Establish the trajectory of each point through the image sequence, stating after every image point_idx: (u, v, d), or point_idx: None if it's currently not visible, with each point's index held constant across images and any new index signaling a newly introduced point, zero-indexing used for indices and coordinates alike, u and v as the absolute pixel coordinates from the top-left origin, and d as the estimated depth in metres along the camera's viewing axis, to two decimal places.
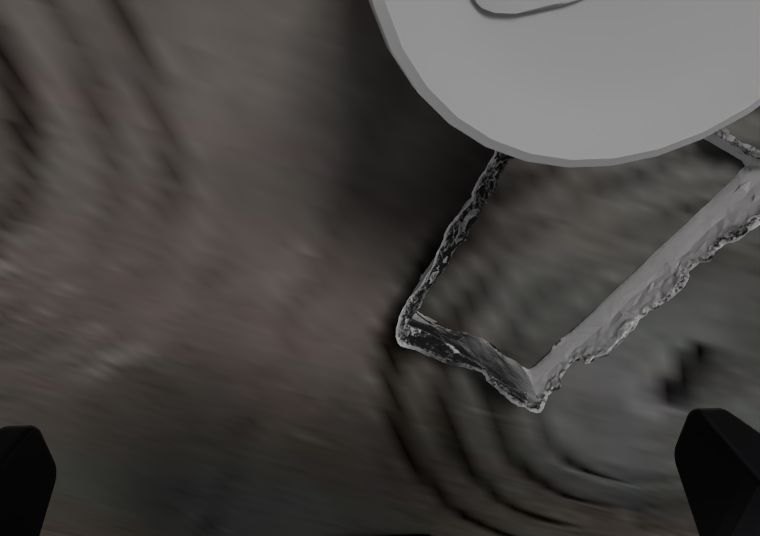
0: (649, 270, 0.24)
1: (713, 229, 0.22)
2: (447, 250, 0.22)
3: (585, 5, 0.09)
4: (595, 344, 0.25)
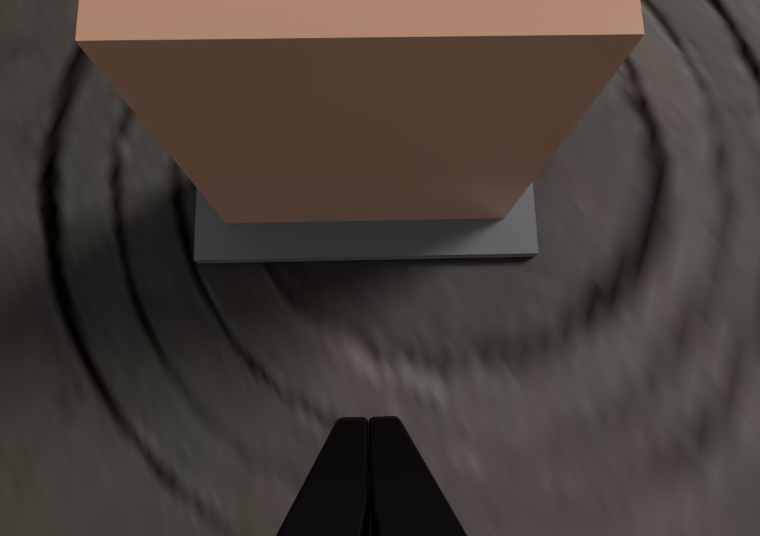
0: None
1: None
2: None
3: None
4: None
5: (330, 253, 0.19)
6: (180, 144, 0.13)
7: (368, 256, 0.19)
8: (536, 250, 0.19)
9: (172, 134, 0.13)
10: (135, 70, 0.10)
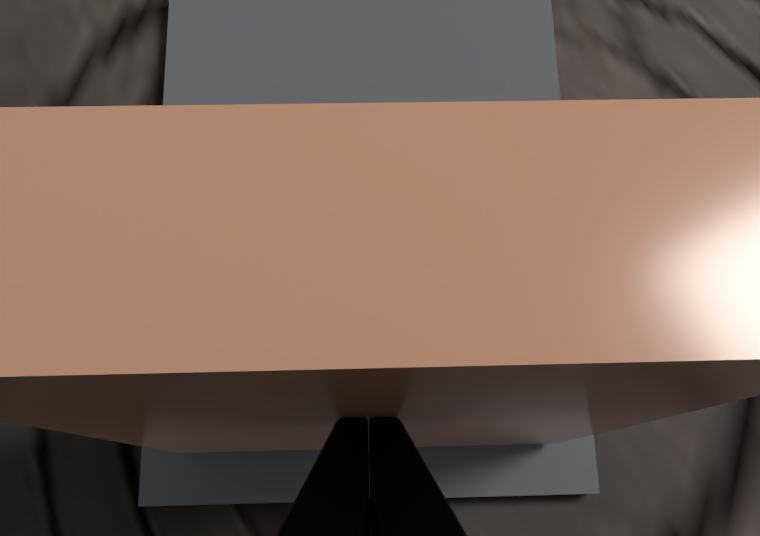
0: None
1: None
2: None
3: None
4: None
5: None
6: (75, 428, 0.08)
7: None
8: (596, 490, 0.14)
9: (57, 424, 0.08)
10: None
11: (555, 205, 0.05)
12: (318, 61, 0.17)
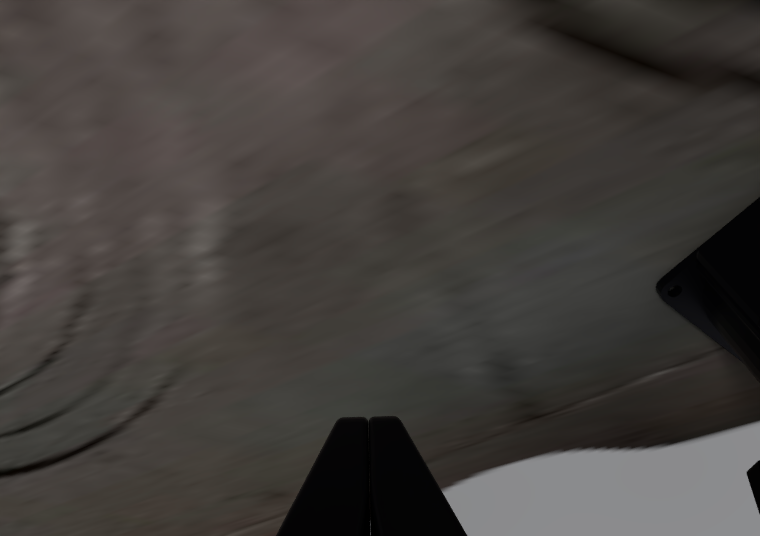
0: None
1: None
2: None
3: None
4: None
5: None
6: None
7: None
8: None
9: None
10: None
11: None
12: None
